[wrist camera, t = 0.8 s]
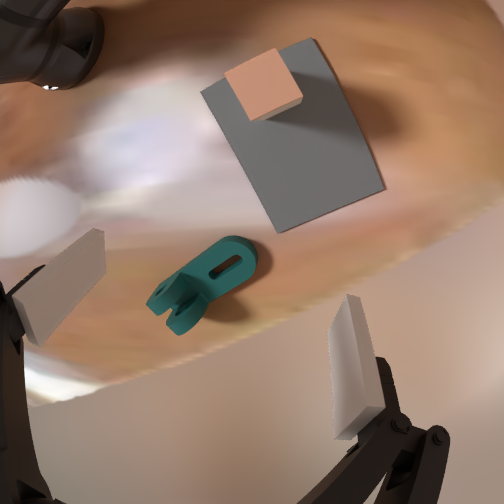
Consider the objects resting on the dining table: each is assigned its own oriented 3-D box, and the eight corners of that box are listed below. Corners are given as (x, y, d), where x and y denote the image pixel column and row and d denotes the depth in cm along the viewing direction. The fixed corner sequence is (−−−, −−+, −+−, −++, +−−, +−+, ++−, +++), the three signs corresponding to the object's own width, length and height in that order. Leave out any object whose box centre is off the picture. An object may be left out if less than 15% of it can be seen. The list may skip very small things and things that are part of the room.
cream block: (246, 86, 32) (223, 73, 21) (281, 69, 30) (275, 47, 20) (264, 120, 33) (250, 121, 23) (300, 103, 32) (303, 96, 21)
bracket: (185, 311, 50) (170, 340, 43) (159, 283, 48) (140, 311, 41) (266, 261, 43) (260, 290, 36) (238, 226, 41) (225, 250, 34)
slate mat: (201, 92, 33) (200, 92, 33) (311, 38, 28) (311, 37, 28) (277, 232, 41) (277, 233, 40) (383, 188, 35) (384, 189, 35)
